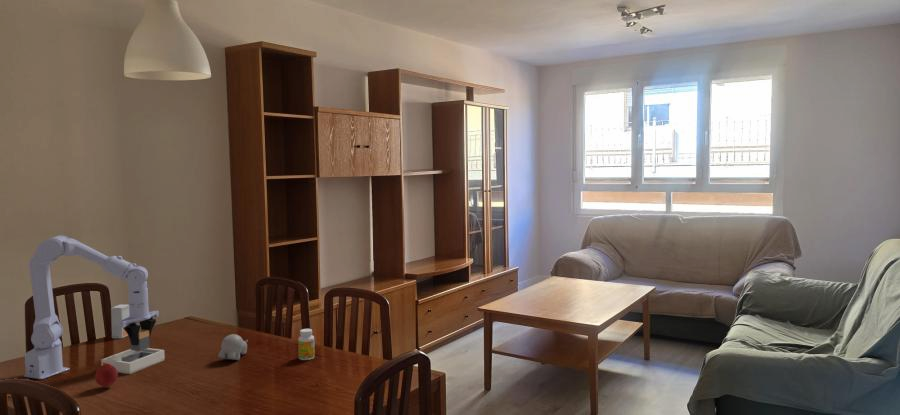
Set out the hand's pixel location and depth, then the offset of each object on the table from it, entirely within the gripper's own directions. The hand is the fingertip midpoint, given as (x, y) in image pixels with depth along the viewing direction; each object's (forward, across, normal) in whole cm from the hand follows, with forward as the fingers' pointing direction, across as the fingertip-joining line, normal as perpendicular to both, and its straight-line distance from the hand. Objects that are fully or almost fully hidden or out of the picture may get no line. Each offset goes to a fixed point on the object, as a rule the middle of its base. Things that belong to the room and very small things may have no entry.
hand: (140, 343), depth 194 cm
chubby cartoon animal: (+7, +14, -27) cm, 31 cm away
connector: (+2, 0, 0) cm, 2 cm away
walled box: (+7, -2, +1) cm, 7 cm away
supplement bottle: (+7, +22, -50) cm, 55 cm away
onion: (+7, -20, -8) cm, 23 cm away
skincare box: (+7, +22, +33) cm, 40 cm away
